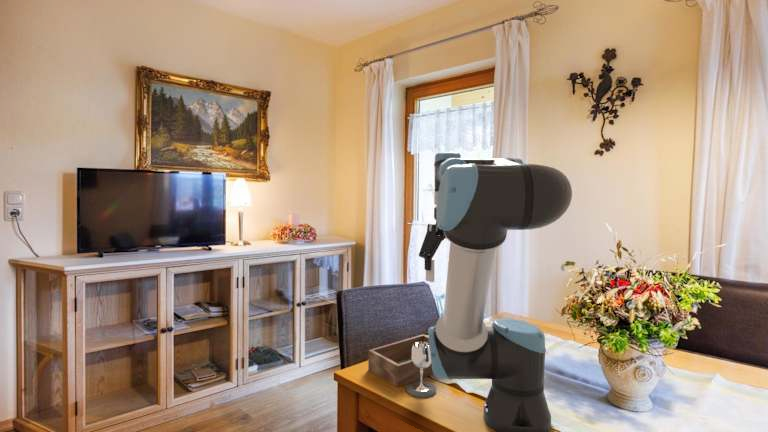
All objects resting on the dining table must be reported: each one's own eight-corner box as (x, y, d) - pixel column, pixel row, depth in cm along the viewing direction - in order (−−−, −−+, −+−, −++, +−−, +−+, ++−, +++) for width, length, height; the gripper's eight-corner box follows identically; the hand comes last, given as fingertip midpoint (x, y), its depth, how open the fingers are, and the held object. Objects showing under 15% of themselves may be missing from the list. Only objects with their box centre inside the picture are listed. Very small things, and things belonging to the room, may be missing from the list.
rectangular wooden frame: (454, 366, 132) (454, 347, 131) (397, 387, 118) (398, 366, 118) (423, 351, 143) (423, 334, 142) (368, 369, 129) (368, 350, 129)
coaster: (442, 391, 116) (442, 389, 116) (420, 400, 111) (420, 398, 111) (422, 380, 122) (422, 378, 122) (400, 388, 117) (400, 386, 117)
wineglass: (435, 386, 117) (436, 343, 116) (425, 395, 113) (426, 350, 112) (416, 381, 121) (417, 339, 120) (406, 389, 116) (407, 345, 115)
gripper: (465, 203, 137) (464, 269, 139) (406, 207, 121) (406, 281, 123) (484, 204, 131) (483, 273, 133) (425, 209, 116) (425, 287, 118)
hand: (446, 277), depth 128 cm, fingers open, 13 cm apart
